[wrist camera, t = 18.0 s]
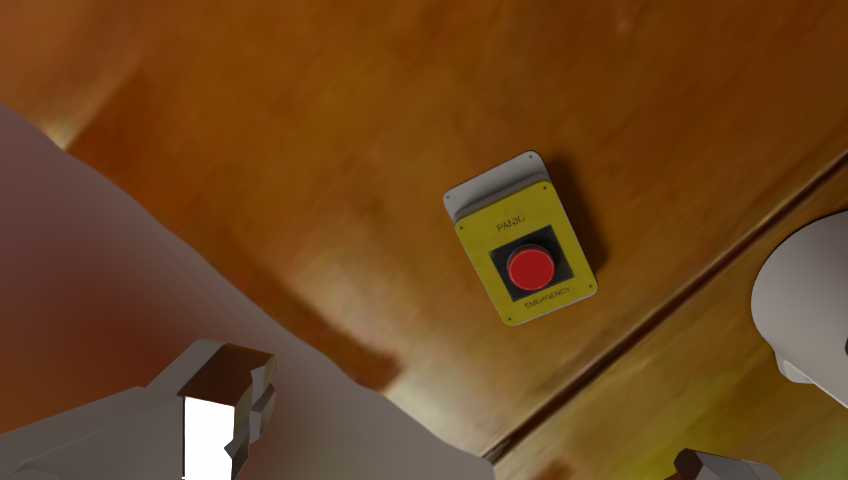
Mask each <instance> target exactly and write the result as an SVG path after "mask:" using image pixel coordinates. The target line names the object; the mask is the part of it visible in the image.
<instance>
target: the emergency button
mask: <svg viewBox="0 0 848 480" xmlns="http://www.w3.org/2000/svg"><path fill="white" fill-rule="evenodd" d="M443 202H444V206H445V208H446V210H447V212H448V213H449V215H450V217H451V219H452V221H453V223H454V227H455V231H456V234H457V236H458V237H459V239H460V241H461V243H462V245H463V247H464V249H465V251H466V253H467V254H468V256H469V258H470V260H471V262H472V264H473V266H474V268H475V270H476V272H477V273H478V275H479V277H480V279H481V281H482V283H483V285H484V287H485V289H486V291H487V292H488V294H489V296H490V298H491V300H492V302H493V304H494V306H495V308H496V309H497V311H498V313H499V315H500V317H501V319H502V321H503V322H504V323H505V324H506V325H510V326H511V325H513V326H514V325H519V324H522V323H524V322H527V321H529V320H532V319H534V318H537V317H539V316H542V315H545V314H547V313H550V312H552V311H555V310H557V309H560V308H562V307H565V306H567V305H570V304H572V303H575V302H577V301H580V300H582V299H585V298H587V297H590V296H592V295H593V294H595V293H596V290H597V288H598V287H597V282H596V279H595V277H594V275H593V273H592V270H591V268H590V266H589V264H588V262H587V259H586V257H585V255H584V253H583V250H582V248H581V246H580V244H579V241H578V239H577V237H576V235H575V232H574V230H573V228H572V226H571V224H570V221H569V219H568V217H567V215H566V212H565V210H564V208H563V206H562V203H561V201H560V199H559V197H558V194H557V192H556V190H555V188H554V186H553V183H552V181H551V179H550V177H549V174H548V172H547V170H546V168H545V165H544V163H543V161H542V159H541V157H540V156H539V155H538V154H537V153H535V152H533V151H528V152H525V153H523V154H521V155H518V156H516V157H514V158H512V159H510V160H508V161H506V162H504V163H502V164H500V165H498V166H496V167H494V168H492V169H490V170H488V171H486V172H484V173H482V174H480V175H478V176H476V177H474V178H472V179H470V180H468V181H466V182H464V183H462V184H460V185H458V186H456V187H454V188H452V189H450V190H448V191H447V192H446V193H445V194H444V198H443Z"/></svg>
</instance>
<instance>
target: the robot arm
mask: <svg viewBox="0 0 848 480" xmlns="http://www.w3.org/2000/svg"><path fill="white" fill-rule="evenodd" d="M751 309H752V315H753V319H754V322H755V325H756V327H757V329H758V330H759V332H760V334H761V335H762V336H763V337H764V339H765V340H766V341H767V342H768V343H769V344H770V345H771V346H772V348H773V349H774V351H775V354H776V360H777V365H778V368H779V371H780V372H781V374H782V375H784V376H785V377H787V378H788V379H789V380H791V381H793V382H797V383H814V384H815V385H817V386H818V387H820V388H821V389H822V390H824V391H825V392H826V393H828V394H829V395H830V396H832V397H833V398H834V399H836V400H837V401H838V402H840V403H841V404H842V405H844V406H845V407H847V408H848V211H845V212H842V213H839V214H835V215H832V216H829V217H826V218H824V219H821V220H819V221H816V222H814V223H812V224H810V225H808V226H806V227H804V228H803V229H801V230H799V231H798V232H796V233H795V234H793V235H792V236H791V237H789V238H788V239H787V240H786V241H784V242H783V243H782V244H781V245H780V246H779V247H778V248H777V249H776V250H775V251H774V252H773V253H772V254H771V256H770V257H769V258H768V260H767V261H766V262H765V264H764V265H763V267H762V269H761V270H760V272H759V274H758V276H757V279H756V281H755V284H754V287H753V292H752V298H751ZM277 362H278V358H277V357H276V355H274V354H270V353H266V352H262V351H258V350H254V349H250V348H246V347H242V346H238V345H234V344H230V343H225V342H221V341H217V340H213V339H209V338H201V339H198V340H196V341H195V342H194V343H193V344H192V345H191V346H190V347H189V348H188V349H187V350H185V352H183V353H182V354H181V355H180V356H179V357H178V358H177V359H176V360H175V361H174V362H173V363H171V364H170V365H169V366H168V367H167V368H166V369H165V370H164V371H163V372H162V373H161V374H160V375H159V376H158V377H156V378H155V379H154V380H153V381H152V382H151V383H150V384H149V385H148V386H147V387H146V388H141V387H134V388H131V389H128V390H126V391H123V392H120V393H117V394H114V395H111V396H109V397H106V398H103V399H100V400H97V401H95V402H92V403H89V404H86V405H83V406H81V407H77V408H75V409H72V410H69V411H66V412H63V413H60V414H58V415H55V416H52V417H50V418H46V419H43V420H41V421H38V422H35V423H32V424H30V425H26V426H24V427H21V428H18V429H15V430H12V431H10V432H7V433H4V434H1V435H0V480H183V479H188V480H235V478H236V477H237V475H238V473H239V472H240V470H241V468H242V467H243V465H244V463H245V462H246V460H247V458H248V450H249V444H251V443H252V442H254V441H256V440H258V439H259V438H260V436H261V435H262V433H263V431H264V429H265V428H266V425H267V423H268V420H269V417H270V415H271V412H272V408H273V404H274V398H275V389H274V388H273V386H272V384H271V383H270V382H271V381H272V379H273V378H274V376H275V375H276V373H277ZM673 463H674V466H675V469H676V472H677V473H675V474H673V475H671V476H670V477H668V478H666V479H664V480H782V479H781V477H780V476H779V475H778V474H777V472H776V471H775V470H773V469H772V468H770V467H769V466H767V465H766V464H762V463H757V462H752V461H747V460H742V459H734V458H729V457H725V456H720V455H715V454H711V453H706V452H702V451H697V450H693V449H688V448H685V449H683V450H682V451H680V452H679V453H678V455H677V457H676V458H675V460H674V462H673Z"/></svg>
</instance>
